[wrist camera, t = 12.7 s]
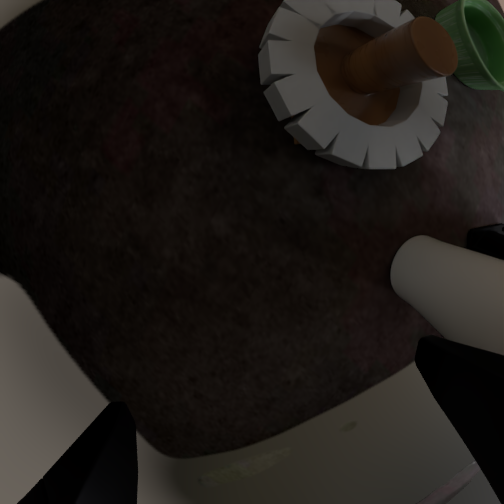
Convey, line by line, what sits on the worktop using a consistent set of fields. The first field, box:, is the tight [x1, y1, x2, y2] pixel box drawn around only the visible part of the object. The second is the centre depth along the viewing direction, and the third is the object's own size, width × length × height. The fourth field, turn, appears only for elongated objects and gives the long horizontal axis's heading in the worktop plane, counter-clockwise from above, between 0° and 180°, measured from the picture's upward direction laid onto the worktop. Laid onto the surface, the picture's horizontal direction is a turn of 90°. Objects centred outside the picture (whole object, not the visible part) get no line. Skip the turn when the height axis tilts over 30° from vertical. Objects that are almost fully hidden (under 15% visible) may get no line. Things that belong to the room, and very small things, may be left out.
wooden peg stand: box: [291, 16, 458, 145], centre depth 13 cm, size 9×9×8 cm
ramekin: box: [435, 0, 504, 91], centre depth 15 cm, size 9×9×4 cm
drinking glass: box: [390, 235, 504, 355], centre depth 15 cm, size 7×7×15 cm
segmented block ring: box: [258, 0, 448, 169], centre depth 14 cm, size 12×12×2 cm
